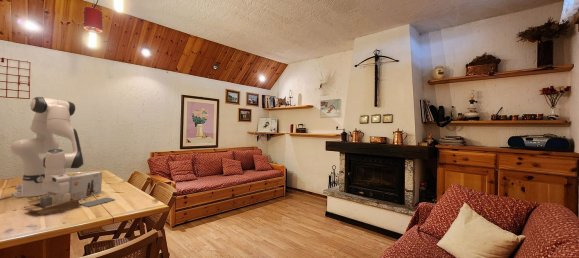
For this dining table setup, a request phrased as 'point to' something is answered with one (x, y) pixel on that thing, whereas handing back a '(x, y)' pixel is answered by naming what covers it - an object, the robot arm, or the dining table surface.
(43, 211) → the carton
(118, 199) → the dining table surface
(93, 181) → the skincare box
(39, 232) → the dining table surface
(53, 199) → the box
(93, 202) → the felt mat
